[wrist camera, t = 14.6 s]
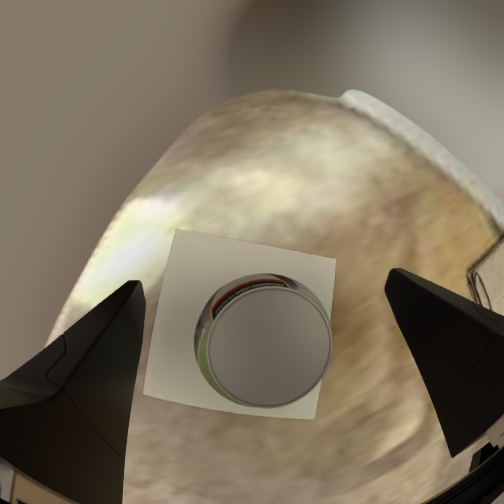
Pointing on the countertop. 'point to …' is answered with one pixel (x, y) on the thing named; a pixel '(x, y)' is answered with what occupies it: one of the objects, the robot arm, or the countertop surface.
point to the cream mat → (194, 300)
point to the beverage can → (263, 341)
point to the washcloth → (489, 280)
